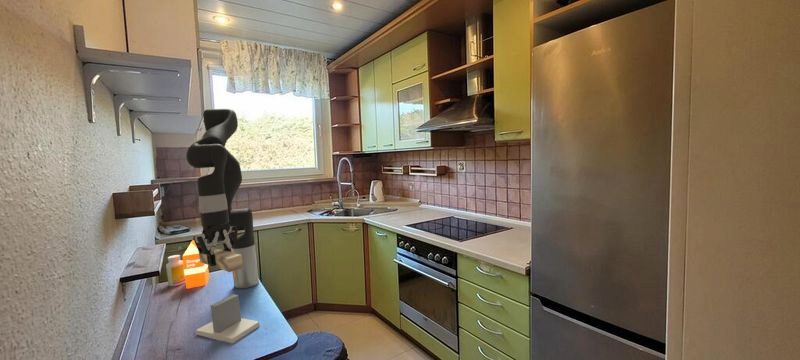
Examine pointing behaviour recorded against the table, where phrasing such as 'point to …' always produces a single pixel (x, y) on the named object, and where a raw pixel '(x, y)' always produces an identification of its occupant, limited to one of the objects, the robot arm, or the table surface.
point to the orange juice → (194, 268)
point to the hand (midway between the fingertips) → (220, 262)
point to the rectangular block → (224, 260)
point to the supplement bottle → (175, 271)
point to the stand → (227, 321)
